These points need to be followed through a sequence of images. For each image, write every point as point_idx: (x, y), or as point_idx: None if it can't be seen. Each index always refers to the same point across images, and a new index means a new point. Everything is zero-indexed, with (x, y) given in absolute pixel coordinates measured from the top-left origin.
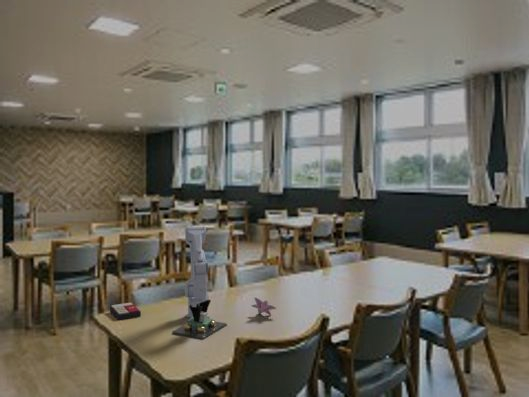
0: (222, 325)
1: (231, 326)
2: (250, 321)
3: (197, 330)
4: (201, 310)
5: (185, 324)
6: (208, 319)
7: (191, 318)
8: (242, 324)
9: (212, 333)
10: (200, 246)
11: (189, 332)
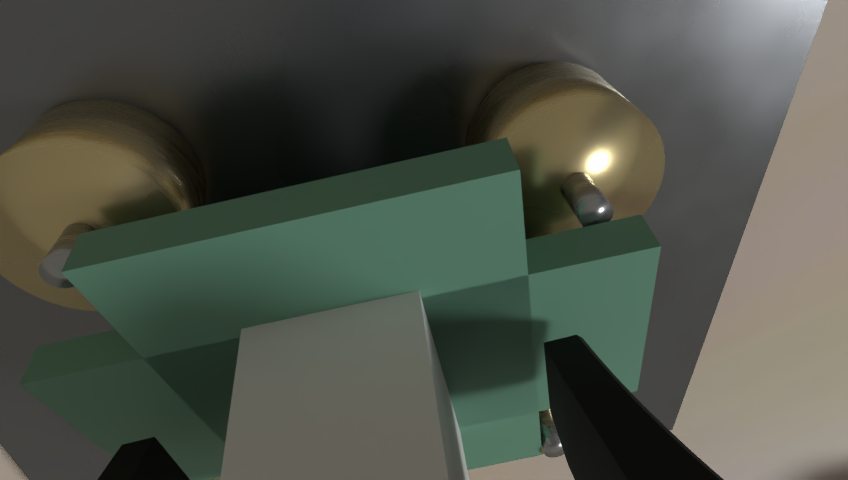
0: None
1: None
2: (840, 477)
3: None
4: (611, 470)
5: (31, 172)
6: (507, 432)
7: (252, 260)
8: (733, 477)
9: None
10: None
11: (9, 306)
